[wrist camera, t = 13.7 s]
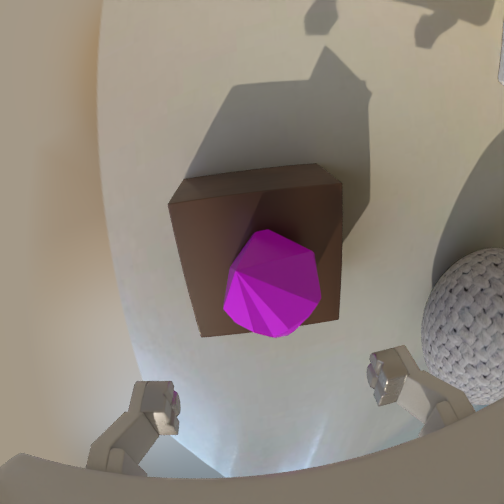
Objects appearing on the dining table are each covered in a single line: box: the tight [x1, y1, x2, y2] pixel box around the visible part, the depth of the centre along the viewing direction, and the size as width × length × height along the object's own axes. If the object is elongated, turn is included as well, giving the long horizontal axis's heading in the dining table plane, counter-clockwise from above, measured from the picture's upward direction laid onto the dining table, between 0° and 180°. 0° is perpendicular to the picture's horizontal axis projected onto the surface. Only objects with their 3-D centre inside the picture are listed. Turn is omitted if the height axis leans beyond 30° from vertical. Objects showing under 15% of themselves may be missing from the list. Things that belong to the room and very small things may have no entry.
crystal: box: [223, 229, 321, 338], centre depth 17 cm, size 5×5×5 cm
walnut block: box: [168, 163, 342, 337], centre depth 22 cm, size 10×10×6 cm
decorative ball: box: [421, 248, 504, 405], centre depth 22 cm, size 15×15×15 cm
